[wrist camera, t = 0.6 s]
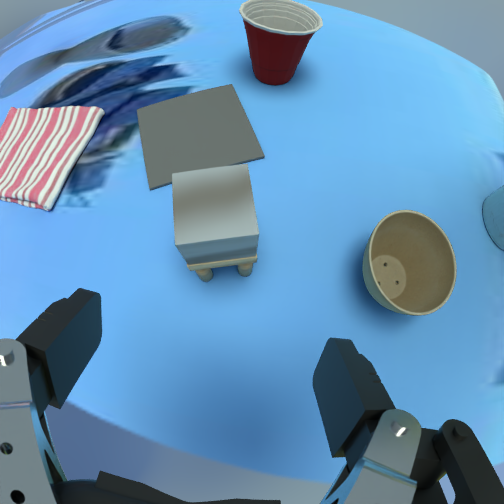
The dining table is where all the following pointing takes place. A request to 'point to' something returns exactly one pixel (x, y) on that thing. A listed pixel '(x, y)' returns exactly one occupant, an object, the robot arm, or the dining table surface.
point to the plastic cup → (277, 36)
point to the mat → (195, 134)
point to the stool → (215, 219)
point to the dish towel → (42, 151)
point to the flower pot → (409, 264)
